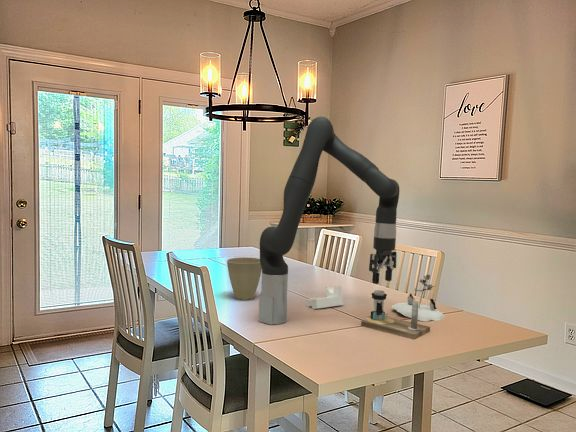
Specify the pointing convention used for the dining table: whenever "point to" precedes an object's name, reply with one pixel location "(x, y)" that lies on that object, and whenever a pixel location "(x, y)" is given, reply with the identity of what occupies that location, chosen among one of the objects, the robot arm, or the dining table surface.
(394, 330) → the gauge board
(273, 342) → the dining table surface
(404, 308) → the figurine
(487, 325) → the dining table surface
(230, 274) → the plant pot
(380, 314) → the push button
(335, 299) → the bracket
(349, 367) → the dining table surface
